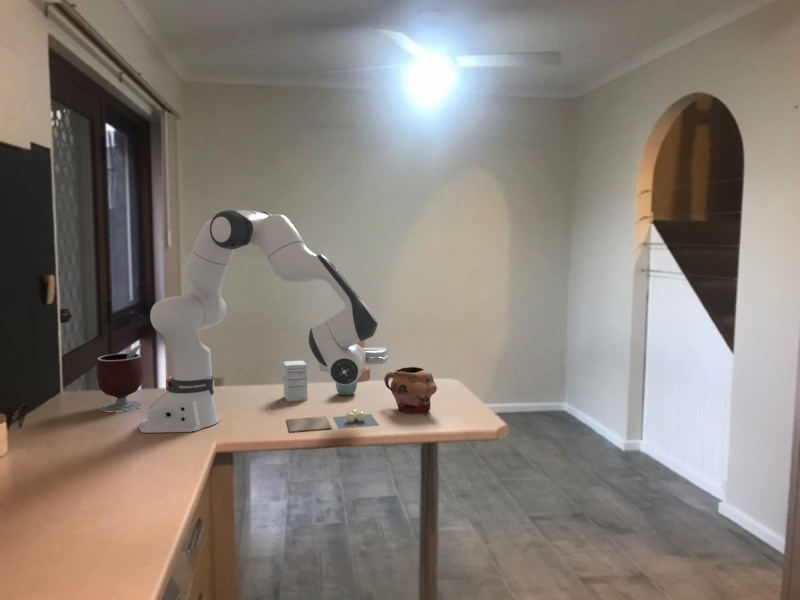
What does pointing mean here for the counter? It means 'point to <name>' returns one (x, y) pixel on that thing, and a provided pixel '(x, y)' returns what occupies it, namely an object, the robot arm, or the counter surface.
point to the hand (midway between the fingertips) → (354, 350)
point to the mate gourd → (120, 378)
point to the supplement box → (295, 380)
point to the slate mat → (355, 422)
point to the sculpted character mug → (412, 389)
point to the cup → (346, 388)
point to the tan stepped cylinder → (366, 371)
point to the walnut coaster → (308, 424)
